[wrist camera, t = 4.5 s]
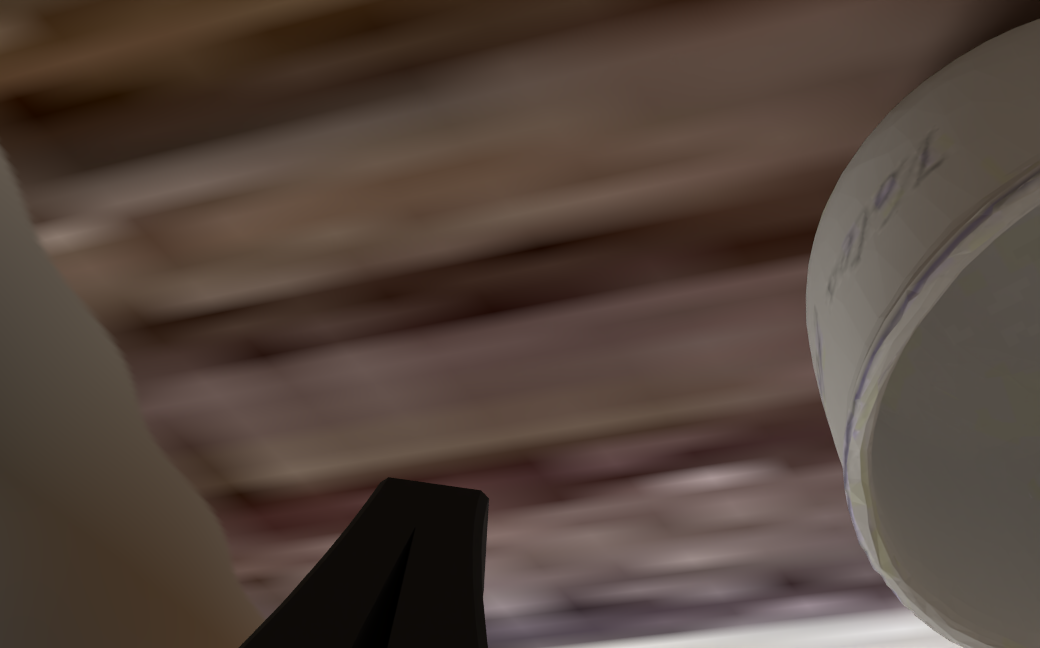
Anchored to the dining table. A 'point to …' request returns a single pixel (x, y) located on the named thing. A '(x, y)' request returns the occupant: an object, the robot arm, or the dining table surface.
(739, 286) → the dining table surface
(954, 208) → the teacup
